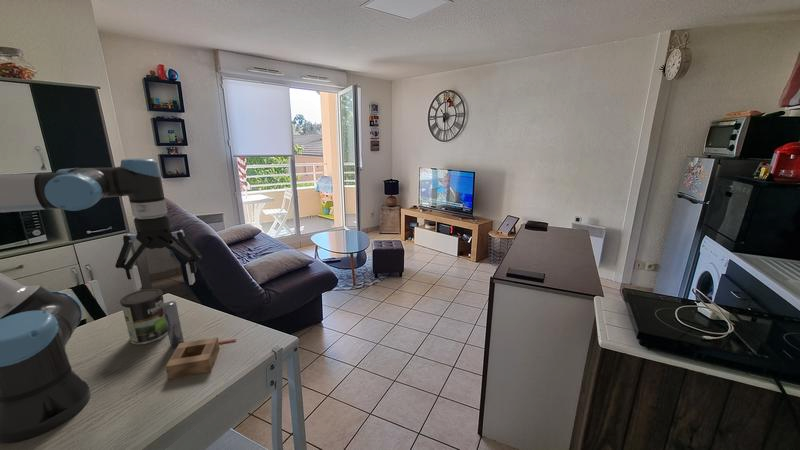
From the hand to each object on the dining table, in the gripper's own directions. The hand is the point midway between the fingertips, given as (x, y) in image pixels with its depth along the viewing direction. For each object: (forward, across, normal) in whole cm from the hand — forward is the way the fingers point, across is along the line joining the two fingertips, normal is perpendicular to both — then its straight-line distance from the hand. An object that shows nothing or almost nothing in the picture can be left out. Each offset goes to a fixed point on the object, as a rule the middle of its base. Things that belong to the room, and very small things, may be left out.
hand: (165, 285), depth 90 cm
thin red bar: (+20, +10, -3) cm, 22 cm away
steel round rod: (+20, 0, 0) cm, 20 cm away
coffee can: (+20, -10, +8) cm, 24 cm away
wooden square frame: (+20, +8, -11) cm, 24 cm away
